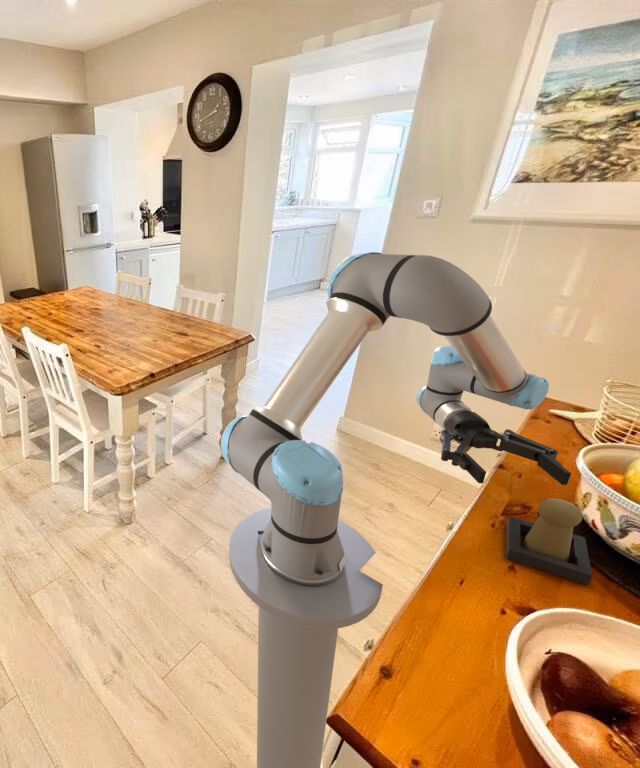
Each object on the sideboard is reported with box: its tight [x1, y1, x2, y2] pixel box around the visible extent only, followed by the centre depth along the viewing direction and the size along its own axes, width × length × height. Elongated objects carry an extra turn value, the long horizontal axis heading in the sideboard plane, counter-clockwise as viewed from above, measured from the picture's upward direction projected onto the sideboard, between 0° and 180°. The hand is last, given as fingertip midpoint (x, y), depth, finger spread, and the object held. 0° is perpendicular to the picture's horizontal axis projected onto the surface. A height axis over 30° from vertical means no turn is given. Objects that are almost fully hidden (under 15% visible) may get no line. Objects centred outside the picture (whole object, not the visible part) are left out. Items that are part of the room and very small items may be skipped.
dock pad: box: [506, 516, 593, 586], centre depth 72 cm, size 10×10×2 cm
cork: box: [521, 497, 583, 563], centre depth 70 cm, size 6×6×11 cm
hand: (523, 478), depth 77 cm, fingers open, 13 cm apart
